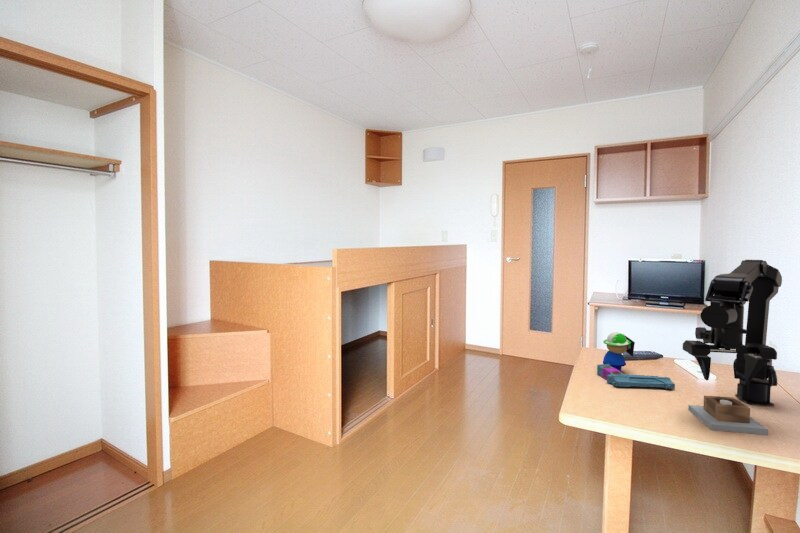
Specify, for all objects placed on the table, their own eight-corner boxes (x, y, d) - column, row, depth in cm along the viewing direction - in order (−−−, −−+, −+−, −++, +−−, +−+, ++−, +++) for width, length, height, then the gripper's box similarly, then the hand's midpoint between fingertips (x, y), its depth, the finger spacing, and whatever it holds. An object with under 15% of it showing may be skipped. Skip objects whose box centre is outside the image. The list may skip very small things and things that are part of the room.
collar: (732, 411, 104) (733, 397, 104) (749, 423, 97) (750, 408, 97) (703, 409, 106) (703, 395, 105) (718, 420, 99) (718, 405, 99)
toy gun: (653, 376, 137) (677, 393, 122) (595, 374, 140) (611, 391, 125) (654, 365, 137) (677, 381, 122) (595, 363, 140) (612, 378, 125)
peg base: (737, 413, 106) (738, 394, 106) (767, 434, 94) (768, 413, 94) (688, 409, 109) (688, 391, 108) (711, 429, 97) (712, 409, 97)
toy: (635, 376, 137) (636, 335, 136) (610, 376, 137) (610, 335, 136) (621, 367, 146) (622, 329, 145) (597, 368, 146) (598, 329, 145)
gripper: (750, 318, 105) (748, 373, 106) (674, 316, 110) (672, 369, 111) (780, 327, 95) (777, 388, 96) (693, 324, 99) (691, 382, 100)
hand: (726, 381), depth 101 cm, fingers open, 9 cm apart
